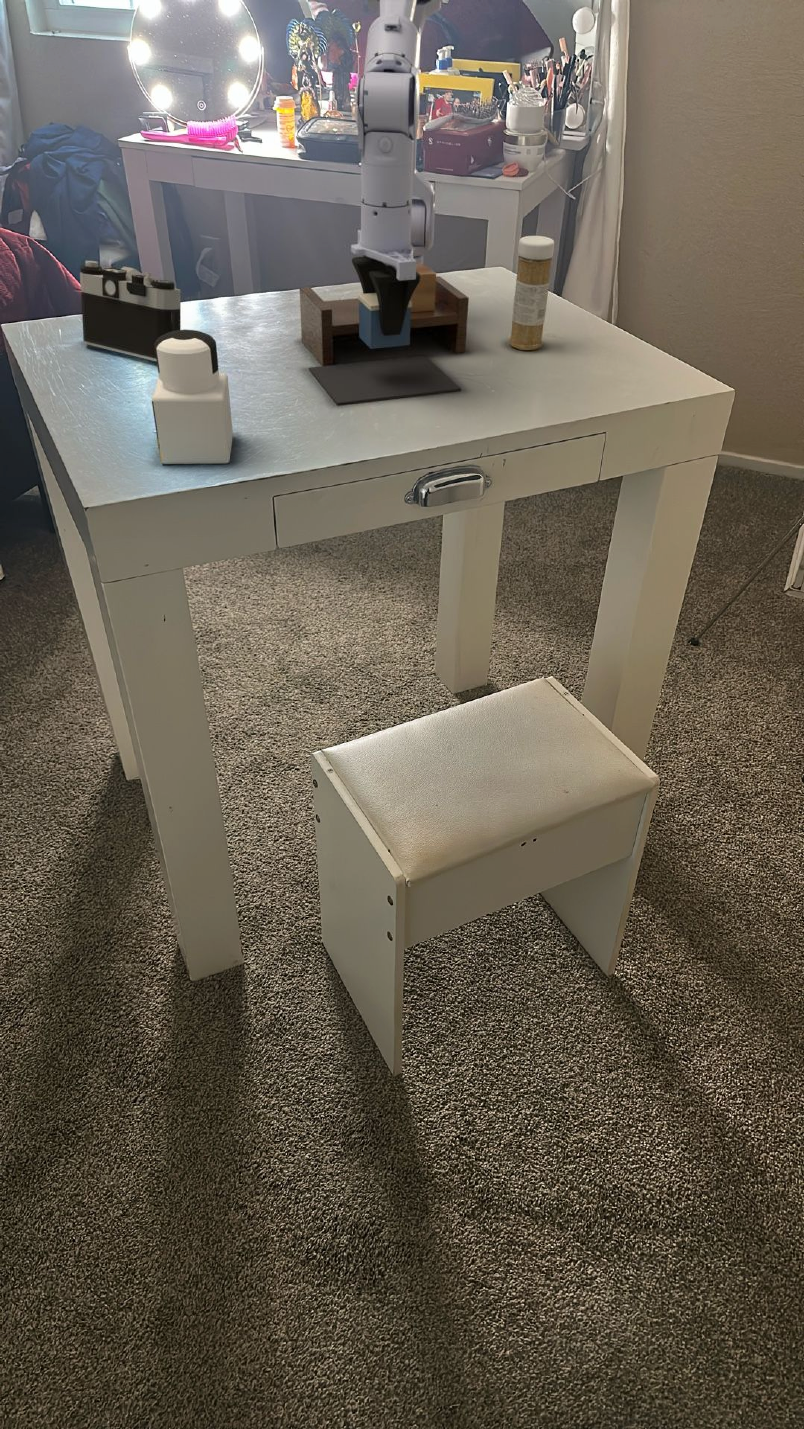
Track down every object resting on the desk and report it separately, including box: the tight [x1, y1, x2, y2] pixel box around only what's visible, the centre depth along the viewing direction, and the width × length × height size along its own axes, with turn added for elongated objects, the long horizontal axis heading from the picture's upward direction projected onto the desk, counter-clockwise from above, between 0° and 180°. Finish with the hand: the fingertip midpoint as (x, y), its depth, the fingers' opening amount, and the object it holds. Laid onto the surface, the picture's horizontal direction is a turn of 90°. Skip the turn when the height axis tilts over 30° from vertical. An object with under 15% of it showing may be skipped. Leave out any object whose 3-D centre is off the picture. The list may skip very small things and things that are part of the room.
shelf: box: [299, 276, 470, 366], centre depth 124 cm, size 10×20×7 cm, turn 111°
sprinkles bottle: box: [509, 235, 555, 351], centre depth 124 cm, size 5×5×13 cm
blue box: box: [357, 293, 412, 350], centre depth 112 cm, size 5×5×5 cm
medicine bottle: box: [151, 329, 234, 465], centre depth 96 cm, size 7×7×12 cm
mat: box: [308, 355, 462, 406], centre depth 117 cm, size 12×16×1 cm
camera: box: [79, 260, 182, 362], centre depth 121 cm, size 15×11×10 cm
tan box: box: [410, 263, 437, 313], centre depth 122 cm, size 4×4×5 cm
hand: (384, 327), depth 113 cm, fingers closed on blue box, 4 cm apart
